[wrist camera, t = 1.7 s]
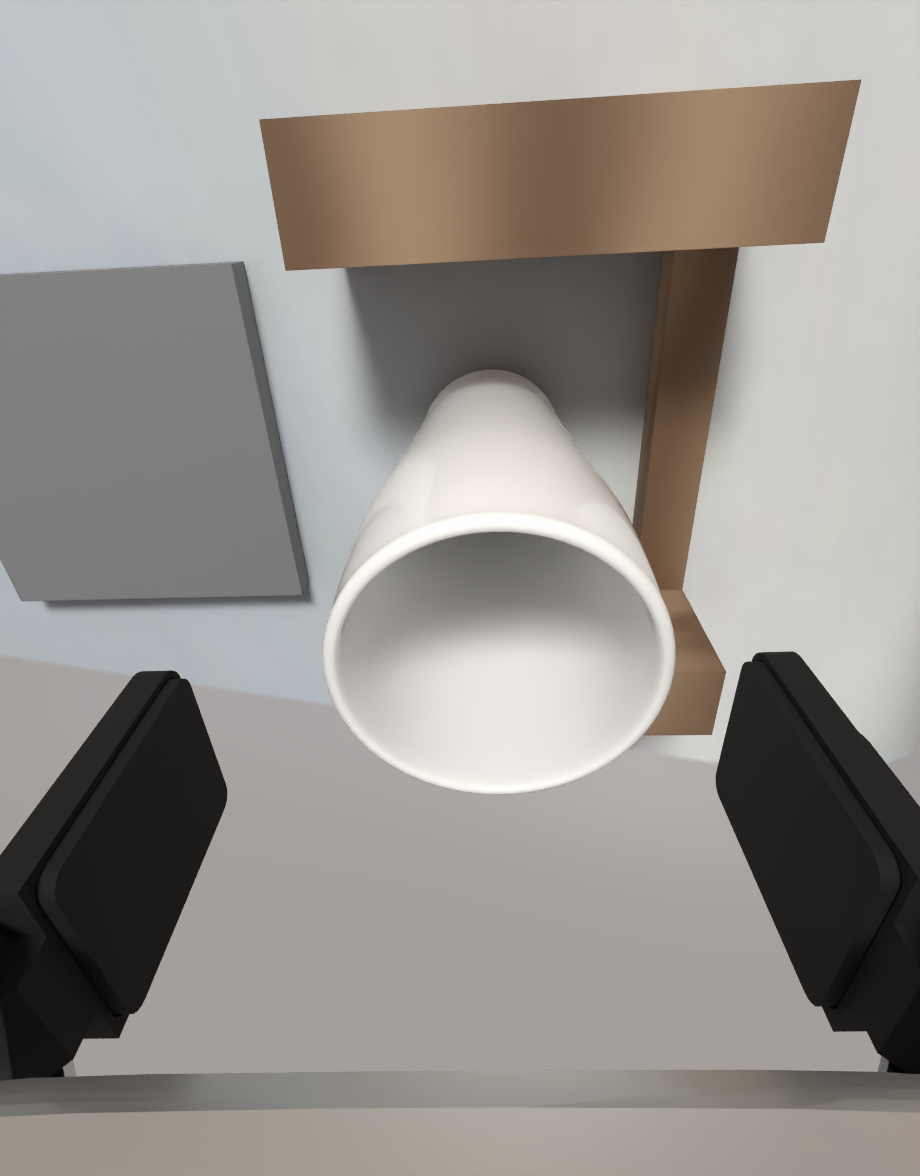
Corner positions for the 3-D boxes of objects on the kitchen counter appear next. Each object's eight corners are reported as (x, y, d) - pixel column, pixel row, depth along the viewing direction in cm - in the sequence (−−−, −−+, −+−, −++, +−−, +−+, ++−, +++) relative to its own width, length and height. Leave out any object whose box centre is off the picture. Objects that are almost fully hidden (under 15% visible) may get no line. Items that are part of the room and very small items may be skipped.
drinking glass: (535, 534, 26) (583, 831, 14) (385, 483, 25) (284, 752, 13) (605, 382, 23) (759, 588, 10) (435, 317, 22) (368, 454, 9)
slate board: (243, 261, 21) (231, 264, 20) (308, 581, 28) (302, 594, 27) (-109, 280, 22) (-138, 283, 21) (37, 587, 29) (21, 601, 28)
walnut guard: (741, 124, 19) (861, 80, 13) (664, 627, 29) (711, 735, 23) (328, 150, 20) (259, 119, 14) (391, 632, 29) (367, 738, 23)
